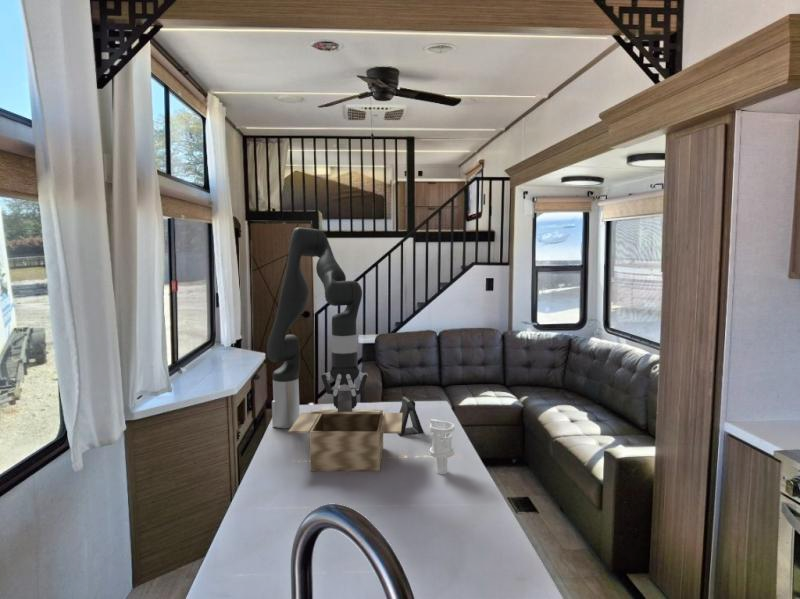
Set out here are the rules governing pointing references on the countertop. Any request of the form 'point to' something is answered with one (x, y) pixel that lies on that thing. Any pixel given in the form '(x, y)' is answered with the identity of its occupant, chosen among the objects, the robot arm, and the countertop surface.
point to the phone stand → (407, 409)
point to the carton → (347, 439)
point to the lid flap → (345, 406)
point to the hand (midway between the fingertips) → (345, 407)
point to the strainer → (441, 444)
